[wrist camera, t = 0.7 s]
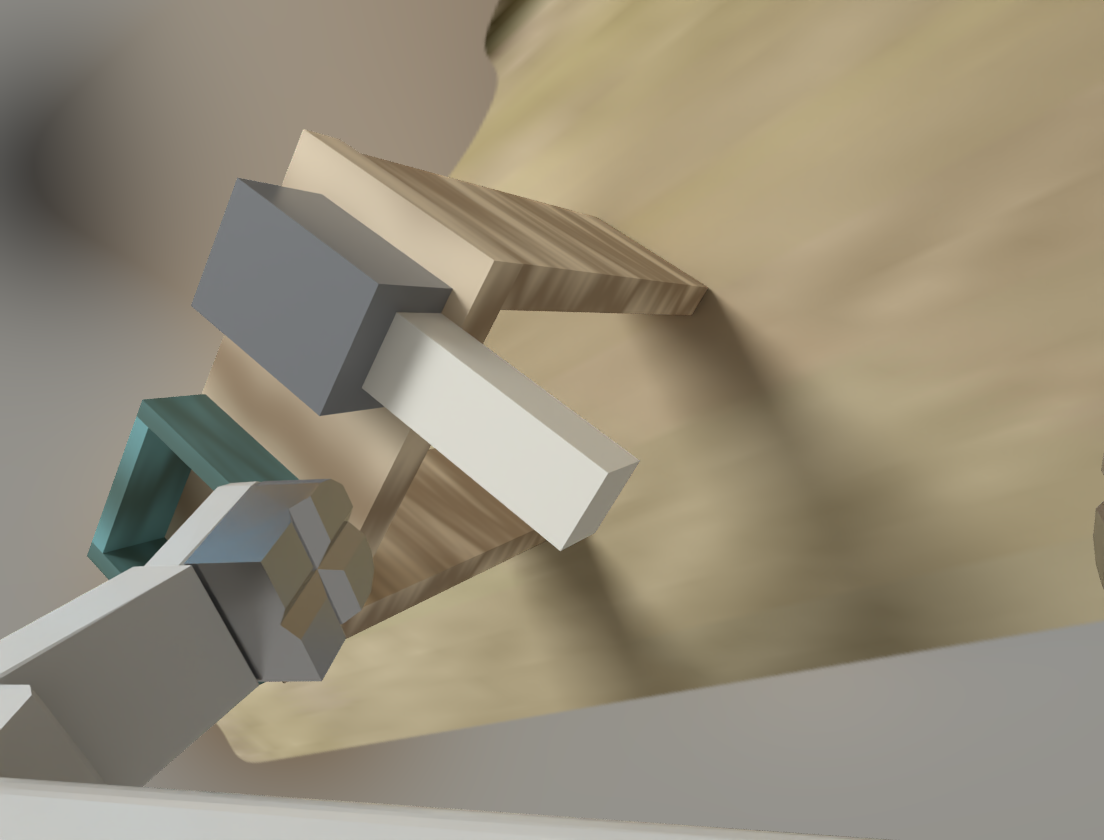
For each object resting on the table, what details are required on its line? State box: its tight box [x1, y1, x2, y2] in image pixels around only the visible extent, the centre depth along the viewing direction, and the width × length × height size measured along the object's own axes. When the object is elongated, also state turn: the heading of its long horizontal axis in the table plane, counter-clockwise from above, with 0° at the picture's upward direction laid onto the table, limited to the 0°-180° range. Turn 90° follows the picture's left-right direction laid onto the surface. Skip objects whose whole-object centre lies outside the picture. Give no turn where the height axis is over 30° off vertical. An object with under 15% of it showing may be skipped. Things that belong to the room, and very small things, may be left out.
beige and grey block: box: [192, 178, 640, 551], centre depth 28 cm, size 16×5×4 cm, turn 58°
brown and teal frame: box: [87, 129, 708, 685], centre depth 43 cm, size 20×10×29 cm, turn 148°
